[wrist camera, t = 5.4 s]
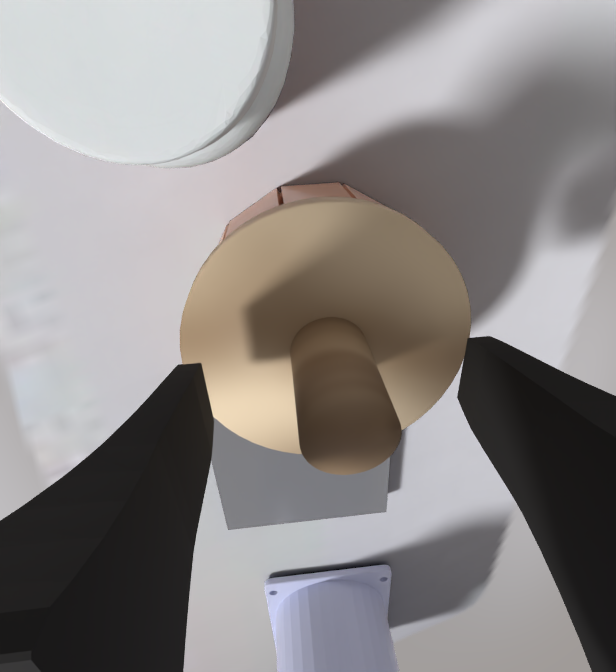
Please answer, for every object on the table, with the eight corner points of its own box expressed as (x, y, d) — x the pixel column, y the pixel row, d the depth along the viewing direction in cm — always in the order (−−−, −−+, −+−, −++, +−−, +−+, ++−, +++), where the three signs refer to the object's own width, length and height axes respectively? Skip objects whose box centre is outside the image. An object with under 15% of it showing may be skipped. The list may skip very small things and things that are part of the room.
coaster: (381, 496, 23) (386, 511, 22) (229, 513, 22) (228, 529, 22) (389, 373, 19) (395, 386, 18) (201, 391, 18) (198, 406, 17)
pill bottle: (294, -37, 11) (349, -274, 4) (271, 152, 13) (279, 218, 6) (108, -86, 10) (-245, -494, 3) (117, 123, 13) (-75, 163, 5)
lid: (441, 427, 16) (499, 536, 12) (209, 449, 16) (190, 570, 12) (482, 186, 11) (597, 235, 8) (154, 206, 11) (92, 270, 7)
